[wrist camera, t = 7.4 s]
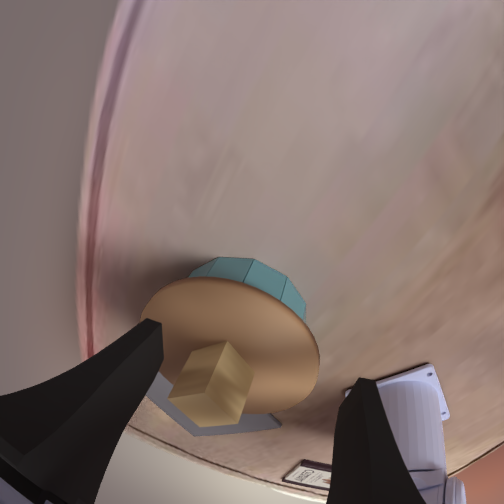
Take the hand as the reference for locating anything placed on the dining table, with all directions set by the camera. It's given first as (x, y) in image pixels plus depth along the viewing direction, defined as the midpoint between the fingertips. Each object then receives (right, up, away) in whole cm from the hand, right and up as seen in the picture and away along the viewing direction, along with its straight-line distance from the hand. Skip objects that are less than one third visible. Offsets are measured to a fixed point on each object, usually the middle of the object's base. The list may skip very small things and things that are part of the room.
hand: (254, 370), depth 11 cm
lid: (-2, -2, +10) cm, 10 cm away
